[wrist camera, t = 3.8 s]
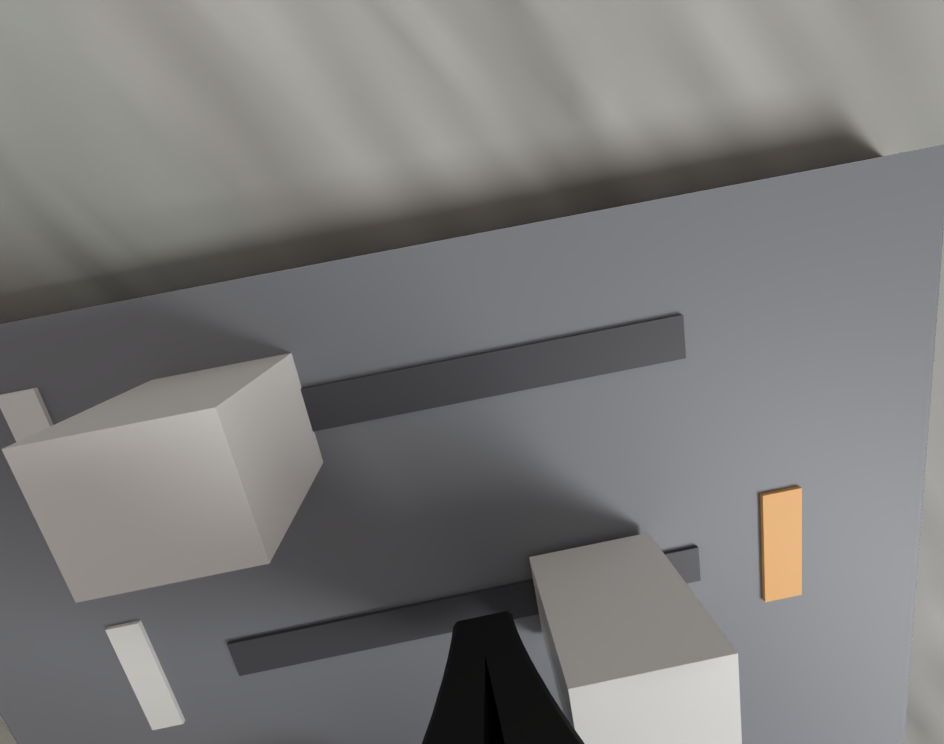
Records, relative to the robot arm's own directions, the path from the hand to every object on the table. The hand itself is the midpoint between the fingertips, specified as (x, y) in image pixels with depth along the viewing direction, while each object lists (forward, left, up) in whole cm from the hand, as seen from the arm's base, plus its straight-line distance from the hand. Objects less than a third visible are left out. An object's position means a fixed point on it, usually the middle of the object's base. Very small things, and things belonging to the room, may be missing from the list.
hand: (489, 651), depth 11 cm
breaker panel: (0, 0, -3) cm, 3 cm away
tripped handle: (0, -3, -1) cm, 3 cm away
